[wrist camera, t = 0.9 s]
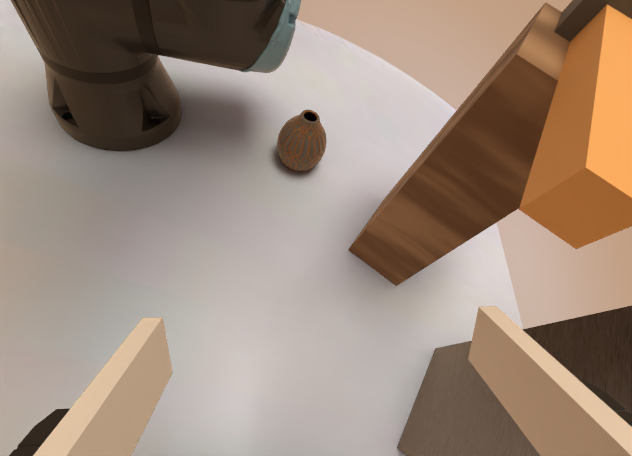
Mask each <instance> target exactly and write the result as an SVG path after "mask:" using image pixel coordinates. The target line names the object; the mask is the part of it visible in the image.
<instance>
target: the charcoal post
mask: <svg viewBox="0 0 632 456" xmlns="http://www.w3.org/2000/svg"><path fill="white" fill-rule="evenodd" d="M523 331H524V332H525V333H527V334H528V335H529V336H530V337H531V338H532V339H533V340H534V341H536V342H537V343H538V344H539V345H540V346H541V347H542V348H543V349H545V350H546V351H547V352H548V353H549V354H550V355H551V356H552V357H554V358H555V359H556V360H557V361H558V362H559V363H560V364H561V365H563V366H564V367H565V368H566V369H567V370H568V371H569V372H570V373H572V374H573V375H574V376H575V377H576V378H577V379H578V380H579V381H587V382H589V383H591V384H592V385H594V386H596V387H597V388H599V389H601V390H602V391H604V392H606V393H607V394H609V395H610V396H611V397H612V398H613V399H614V400H616V401H617V402H618V403H619V404H620V405H622V406H623V407H624V408H625V409H626V411H627V412H630V413H631V414H632V306H628V307H624V308H619V309H614V310H610V311H605V312H601V313H596V314H592V315H587V316H583V317H578V318H574V319H569V320H565V321H560V322H556V323H551V324H546V325H541V326H537V327H533V328H528V329H523ZM471 342H472V341H468V342H464V343H459V344H455V345H450V346H446V347H441V348H436V349H435V352H434V354H433V357H432V359H431V362H430V365H429V367H428V370H427V372H426V375H425V377H424V380H423V383H422V385H421V388H420V390H419V393H418V395H417V398H416V401H415V403H414V406H413V408H412V411H411V413H410V416H409V419H408V421H407V424H406V426H405V429H404V431H403V434H402V437H401V439H400V442H399V444H398V447H397V448H398V449H399V450H400V451H402V452H403V453H404V454H405V455H406V456H540V455H539V453H538V452H537V451H536V449H535V448H534V447H533V445H532V444H531V443H530V441H529V440H528V439H527V437H526V436H525V435H524V433H523V432H522V431H521V429H520V428H519V427H518V425H517V424H516V423H515V421H514V420H513V418H512V417H511V416H510V414H509V413H508V412H507V410H506V409H505V408H504V406H503V405H502V404H501V402H500V401H499V400H498V398H497V397H496V396H495V394H494V393H493V392H492V390H491V389H490V388H489V386H488V385H487V384H486V382H485V381H484V380H483V378H482V377H481V376H480V374H479V373H478V372H477V370H476V369H475V368H474V366H473V365H472V364H471V362H470V361H469V360H468V357H469V352H470V347H471Z"/></svg>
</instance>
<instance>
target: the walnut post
mask: <svg viewBox="0 0 632 456" xmlns="http://www.w3.org/2000/svg"><path fill="white" fill-rule="evenodd" d="M561 14H562V12H560V11H559V10H557V9H556V8H554V7H552V6H551V5H549V4H547V3H545V4H544V5H543V6H542V8H541V9H540V10H539V11H538V12H537V14H536V15H535V16H534V17H533V19H532V20H531V21H530V22H529V23H528V25H527V26H526V27H525V28H524V29H523V31H522V32H521V33H520V34H519V35H518V37H517V38H516V39H515V41H514V42H513V43H512V44H511V45H510V47H509V48H508V49H507V50H506V51H505V53H504V54H503V55H502V56H501V57H500V59H499V60H498V61H497V62H496V64H495V65H494V66H493V67H492V69H491V70H490V71H489V72H488V73H487V74H486V76H485V77H484V78H483V79H482V81H481V82H480V83H479V84H478V86H477V87H476V88H475V89H474V90H473V92H472V93H471V94H470V95H469V96H468V98H467V99H466V100H465V101H464V103H463V104H462V105H461V106H460V107H459V109H458V110H457V111H456V112H455V113H454V115H453V116H452V117H451V118H450V120H449V121H448V122H447V123H446V124H445V126H444V127H443V128H442V129H441V131H440V132H439V133H438V134H437V135H436V137H435V138H434V139H433V140H432V142H431V143H430V144H429V145H428V146H427V148H426V149H425V150H424V151H423V152H422V154H421V155H420V156H419V157H418V159H417V160H416V161H415V162H414V163H413V165H412V166H411V167H410V168H409V170H408V171H407V172H406V173H405V174H404V176H403V177H402V178H401V179H400V181H399V182H398V183H397V184H396V185H395V187H394V188H393V189H392V190H391V191H390V193H389V194H388V195H387V196H386V198H385V199H384V200H383V202H382V203H381V205H380V206H379V207H378V209H377V210H376V212H375V213H374V214H373V216H372V217H371V219H370V220H369V222H368V223H367V224H366V226H365V227H364V229H363V230H362V231H361V233H360V234H359V236H358V237H357V238H356V240H355V241H354V243H353V244H352V245H351V247H350V248H349V251H351V252H352V253H353V254H355V255H356V256H357V257H359V258H360V259H361V260H363V261H364V262H365V263H367V264H368V265H369V266H371V267H372V268H373V269H375V270H376V271H377V272H379V273H380V274H381V275H383V276H384V277H385V278H387V279H388V280H389V281H391V282H392V283H393V284H395V285H396V286H397V285H398V284H400V283H401V282H403V281H404V280H406V279H408V278H409V277H411V276H412V275H414V274H416V273H417V272H419V271H420V270H422V269H423V268H425V267H427V266H428V265H430V264H431V263H433V262H435V261H436V260H438V259H439V258H441V257H442V256H444V255H446V254H447V253H449V252H450V251H452V250H453V249H455V248H457V247H458V246H460V245H461V244H463V243H465V242H466V241H468V240H469V239H471V238H472V237H474V236H476V235H477V234H479V233H480V232H482V231H483V230H485V229H487V228H488V227H490V226H491V225H493V224H495V223H496V222H498V221H499V220H501V219H502V218H504V217H506V216H507V215H509V214H510V213H512V212H513V211H515V210H517V209H518V208H519V207H520V204H521V201H522V197H523V194H524V191H525V188H526V184H527V181H528V178H529V175H530V171H531V168H532V165H533V161H534V158H535V155H536V152H537V148H538V145H539V142H540V139H541V135H542V132H543V129H544V126H545V122H546V119H547V116H548V112H549V109H550V106H551V103H552V99H553V96H554V93H555V90H556V86H557V83H558V80H559V76H560V73H561V70H562V67H563V63H564V60H565V57H566V54H567V50H568V47H569V44H570V41H568V40H566V39H565V38H563V37H562V36H560V35H558V34H557V33H555V32H554V31H555V28H556V26H557V23H558V21H559V19H560V16H561Z"/></svg>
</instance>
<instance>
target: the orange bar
mask: <svg viewBox="0 0 632 456" xmlns="http://www.w3.org/2000/svg"><path fill="white" fill-rule="evenodd" d="M554 32H555V33H557V34H558V35H560V36H562V37H563V38H565V39H566V40H568V41H570V44H569V47H568V50H567V54H566V57H565V60H564V63H563V67H562V70H561V73H560V76H559V80H558V83H557V86H556V90H555V93H554V96H553V99H552V103H551V106H550V109H549V112H548V116H547V119H546V122H545V126H544V129H543V132H542V135H541V139H540V142H539V145H538V148H537V152H536V155H535V158H534V161H533V165H532V168H531V171H530V175H529V178H528V181H527V184H526V188H525V191H524V194H523V197H522V201H521V204H520V207H519V210H521V211H522V212H523V213H525V214H526V215H528V216H529V217H531V218H532V219H534V220H535V221H536V222H538V223H539V224H541V225H542V226H544V227H545V228H547V229H548V230H549V231H551V232H552V233H554V234H555V235H557V236H558V237H559V238H561V239H562V240H564V241H566V242H567V243H569V244H570V245H571V246H572V247H574V248H575V249H578V248H580V247H582V246H584V245H587V244H589V243H592V242H594V241H597V240H599V239H602V238H604V237H606V236H609V235H611V234H613V233H616V232H619V231H621V230H623V229H626V228H628V227H631V226H632V0H573V1H572V2H571V3H570V4H569V5H568V6H567V7H566V9H565V10H564V11H563V12H562V14H561V16H560V19H559V21H558V23H557V26H556V28H555V31H554Z"/></svg>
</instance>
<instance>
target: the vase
mask: <svg viewBox="0 0 632 456" xmlns="http://www.w3.org/2000/svg"><path fill="white" fill-rule="evenodd" d="M277 148H278V154H279V156H280V159H281V160H282V162H283V163H284V164H285V165H286V166H287V167H289V168H290V169H292V170H295V171H306V170H309V169H311V168H313V167H314V166H316V165H317V164H318V163H319V161H320V160H321V158H322V156H323V154H324V152H325V148H326V134H325V131H324V128H323V127H322V125H321V123H320V119H319V116H318V114H317V113H316V112H314V111H312V110H304V111H303V112H302V113H301V114H300V115H298V116H295V117H293V118H291V119H290V120H288V121H287V122H286V123H285V125H284V126H283V127H282V129H281V131H280V133H279V137H278V143H277Z"/></svg>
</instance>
